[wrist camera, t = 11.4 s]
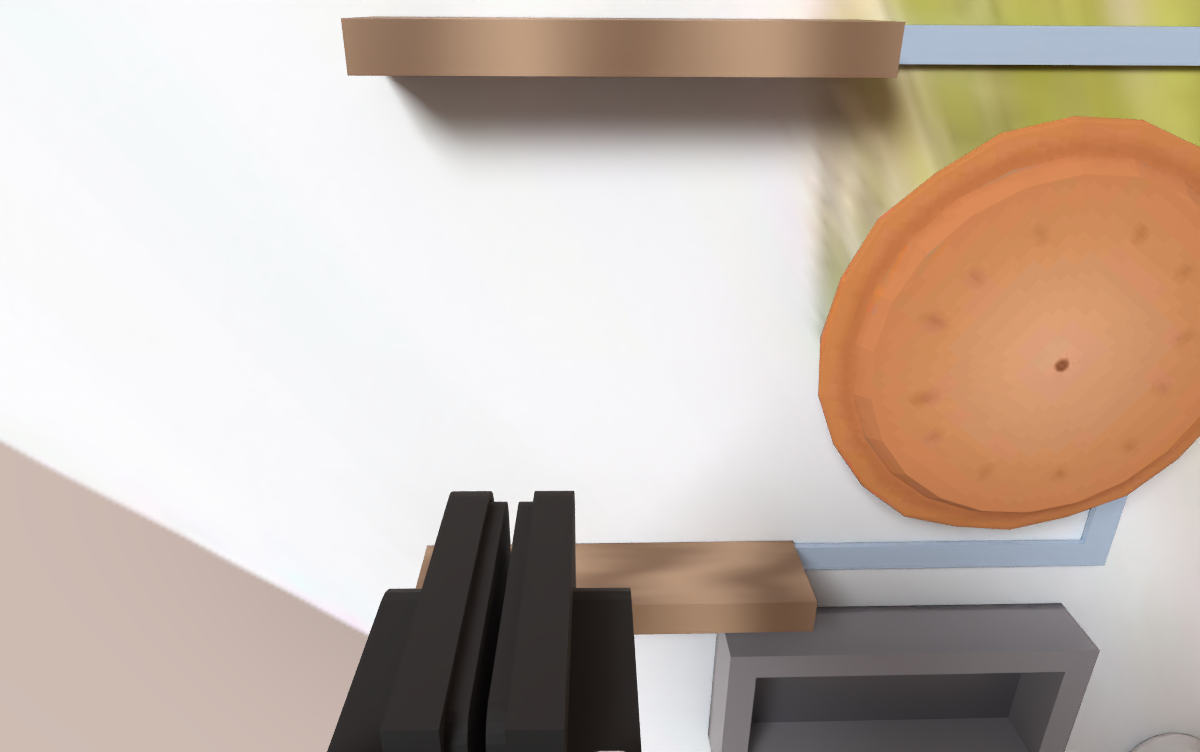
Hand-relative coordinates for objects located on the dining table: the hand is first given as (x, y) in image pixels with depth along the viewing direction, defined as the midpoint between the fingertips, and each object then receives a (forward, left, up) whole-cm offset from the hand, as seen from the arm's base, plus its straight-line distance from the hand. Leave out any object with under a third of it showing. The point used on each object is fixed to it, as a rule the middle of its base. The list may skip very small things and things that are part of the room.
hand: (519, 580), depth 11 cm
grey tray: (-15, +22, -20) cm, 33 cm away
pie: (-17, +4, -20) cm, 27 cm away
